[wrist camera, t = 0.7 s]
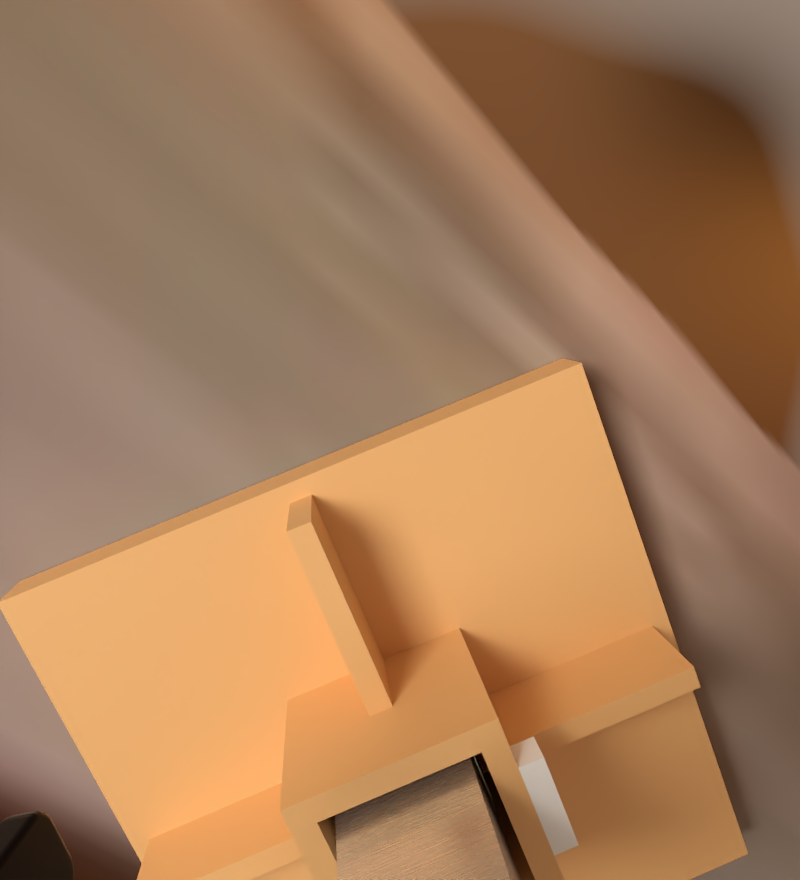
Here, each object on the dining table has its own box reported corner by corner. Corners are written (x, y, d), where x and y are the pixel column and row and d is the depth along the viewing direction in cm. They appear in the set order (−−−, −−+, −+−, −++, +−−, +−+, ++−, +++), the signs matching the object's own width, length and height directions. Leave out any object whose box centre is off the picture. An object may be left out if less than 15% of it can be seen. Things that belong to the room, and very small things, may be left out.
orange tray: (722, 820, 24) (851, 986, 18) (259, 1021, 24) (241, 1257, 18) (563, 358, 21) (658, 381, 15) (19, 581, 20) (-99, 694, 15)
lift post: (481, 765, 21) (620, 1159, 12) (374, 810, 21) (425, 1247, 12) (440, 667, 21) (552, 1000, 11) (330, 713, 21) (342, 1091, 11)
